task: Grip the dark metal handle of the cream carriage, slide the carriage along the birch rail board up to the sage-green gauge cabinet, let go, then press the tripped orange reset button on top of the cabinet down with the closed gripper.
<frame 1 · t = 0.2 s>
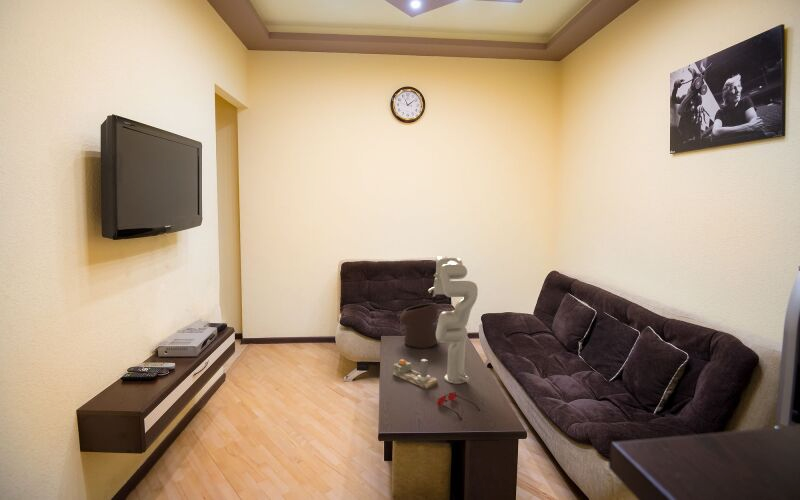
hand: (441, 302, 258), 37 cm above the table, fingers open, 9 cm apart
glasses: (457, 409, 197), on the table
vase: (418, 342, 293), on the table
rail board: (414, 379, 230), on the table
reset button: (402, 363, 237), point 6 cm above the table, slide at 0.0 cm
carriage: (423, 370, 224), point 7 cm above the table, slide at 0.0 cm
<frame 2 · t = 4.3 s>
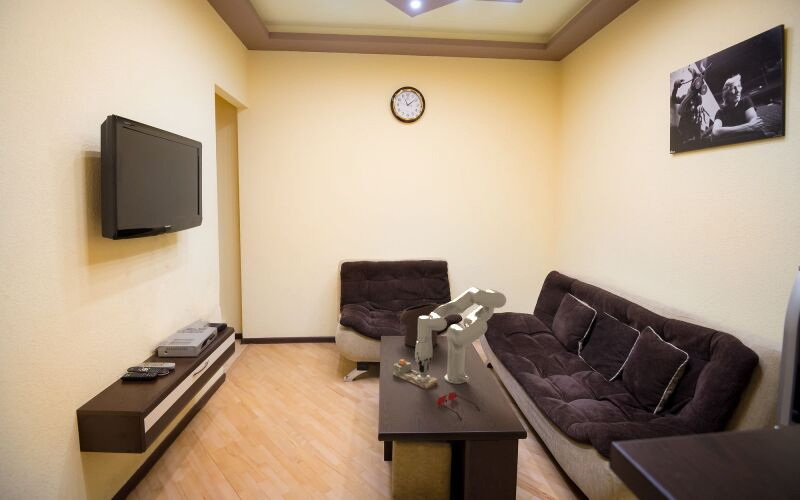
hand: (423, 370, 224), 7 cm above the table, fingers closed on carriage, 2 cm apart
carriage: (423, 370, 224), point 7 cm above the table, slide at 0.0 cm, touching gripper
everything else where it was.
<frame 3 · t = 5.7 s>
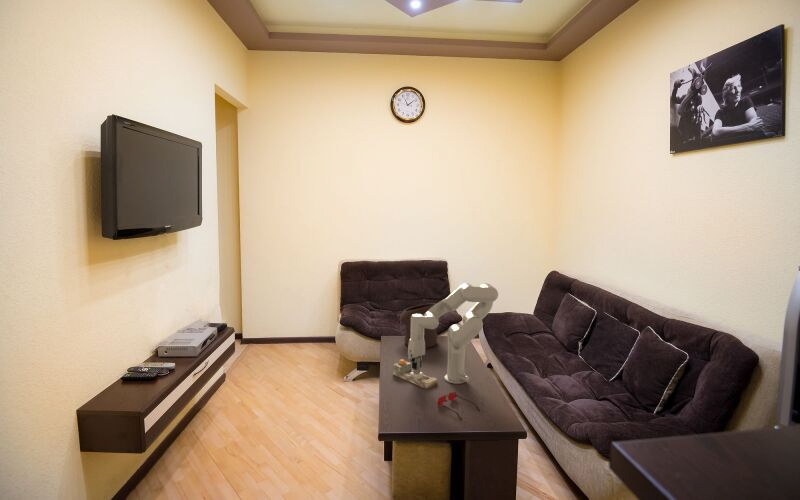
hand: (416, 367, 228), 7 cm above the table, fingers closed on carriage, 2 cm apart
carriage: (416, 367, 228), point 7 cm above the table, slide at 5.5 cm, touching gripper
everything else where it was.
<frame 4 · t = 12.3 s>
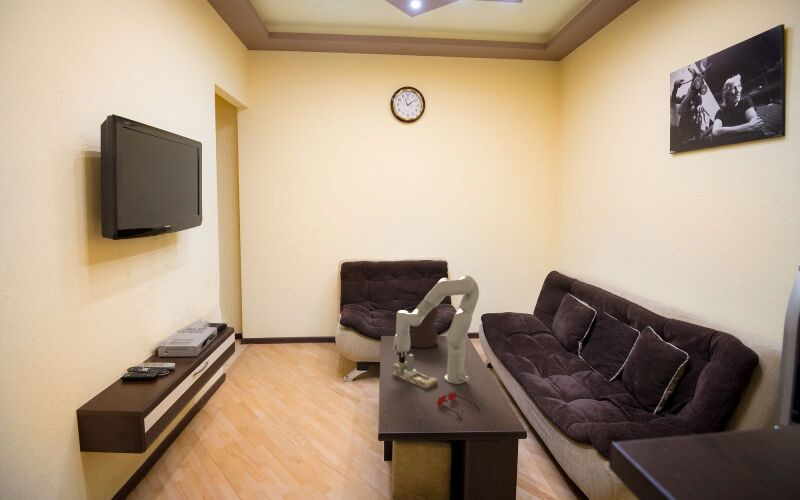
hand: (401, 362, 237), 7 cm above the table, fingers closed
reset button: (402, 365, 237), point 5 cm above the table, slide at 1.2 cm, touching gripper
carriage: (410, 364, 232), point 7 cm above the table, slide at 10.8 cm
everything else where it was.
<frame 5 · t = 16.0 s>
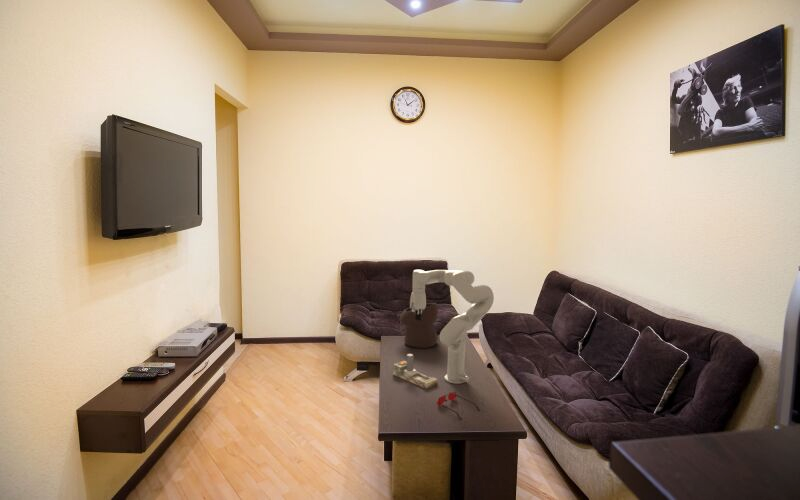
hand: (418, 319, 246), 29 cm above the table, fingers closed
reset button: (402, 365, 237), point 5 cm above the table, slide at 1.5 cm
everything else where it was.
at the end: carriage slide at 10.8 cm; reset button slide at 1.5 cm; the gripper is holding nothing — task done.
